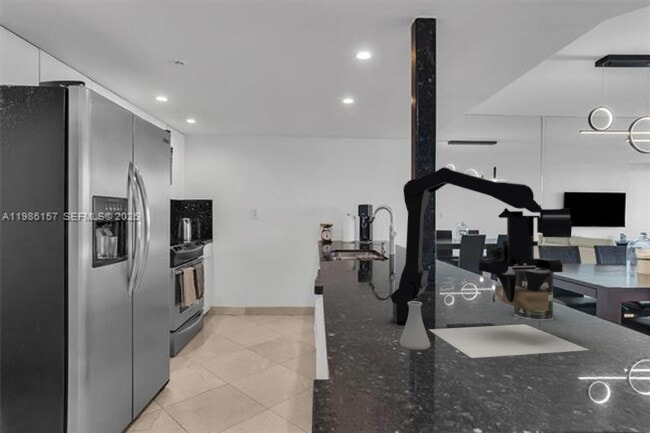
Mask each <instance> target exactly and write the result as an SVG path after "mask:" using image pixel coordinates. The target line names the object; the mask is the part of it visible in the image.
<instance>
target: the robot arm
mask: <svg viewBox="0 0 650 433" xmlns="http://www.w3.org/2000/svg"><path fill="white" fill-rule="evenodd" d="M446 185H452V186H456V187H459V188H462V189H466V190H468V191H472V192H476V193H480V194H483V195H486V196H490V197H492V198H494V199H496V200H498V201H500V202H503V203H504V204H507V205H508V206H511V207H512V208H514V209H519V210H520V211H519V210H511V211H510V210H509V209H508V208H507V207H505V208H504V209H503V211H501V213H500V214H499V215H498V218H499V219H506V240H505V239H504V240H503V242H502V247H497V245H488V246H486V249H485V254H486V258H487V259H485V258H484V259H483V258H482V259H481V260H480V261H479V263H478V271H480V272H485V273H487V274H488V273H489V274H491V275H494V276H496V277H497V279H498V280H499V281H500V284H501V286H503V289H504V291H505V294H506V297H507V299H508V301H509V302H513V298H514V292H515V284H516V276H517V275H515V274H514V273H513V271H514V270H519V269H528V271H524V273H525V275H526V277H527V289H529V290H533V291H537V292H538V291H539V289H540V287H541V286H542V284H543V283H544V281H545V280H546V278H547V277H548V276H551V274H550V273H547V270H550V271H551V272H554V273H563V272H564V271H563V265H564V264H563V263H562V261H561V260H560V259H555V258H554V259H553V258H544V257H543V258H540V257H539V258H535V250H534V249H535V247H538V245H539V241H536V240H535V235H534V234H535V231H534V230H535V226H534V224H535V219H536V229H537V230H536V232H537V234H541V236H542V237H543V238H560V239H562V238H566V239H567V238H568V239H570V238H572V232H573V231H572V229H573V225H572V224H573V222H572V221H571V209H570V208H569V207H566V208H565V207H562V208H555V209H554V208H552V209H551V208H550V209H549V208H548V209H547V208H546V209H544V208H542V207H541V204H538V203H537V201H536V200H535V199H534V198H535V196H534V191H533V189H532V188H531V187H530V186H528V185H527V184H524V183H523V184H522V183H514V182H503V181H501V182H500V181H493V180H491V179H487V178H482V177H478V176H475V175H472V174H468V173H464V172H461V171H457V170H454V169H451V168H449V167H445V166H444V167H441V168H440V169H438V170H435V171H434V172H431V173H429V174H427V175H424V176H421V177H420V178H418V179H416V178H415V179H414V178H413V179H411V180H408V181H407V182H406V183H405V184H404V186H403V197H404V198H403V199H404V204H405V207H406V210H407V221H406V222H407V225H406V245H405V248H406V249H405V263H404V266H403V269H402V272H401V275H400V279H399V284H398V288H397V289H395V291H393V292H392V294H390V299H391V301H392V318H390V321H391V322H393V323H395V324H396V325H397V326H398V327H399V326H405V325H406V322H407V319H408V314H409V305H408V302H410V301H417V302H419V301H418V299H419V297H420V295H421V294H422V293H424V292H425V290H426V288H427V287H428V286H429V282H428V276H429V270H424V267H423V264H422V263H423V260H422V259H423V243H424V241H423V239H424V224H425V223H424V222H425V221H424V220H425V218H424V217H425V213H426V209H427V206H428V205H429V199H430V195H431V194H433V193H434V192H437V191H438V190H439V189H441V188H442V187H444V186H446ZM523 209H525V210H527V211H528V212H531V213H532V214H533V213H534V214H536V213H539V215H524V211H523ZM546 269H547V270H546Z"/></svg>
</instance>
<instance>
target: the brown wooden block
mask: <svg viewBox="0 0 650 433" xmlns="http://www.w3.org/2000/svg"><path fill="white" fill-rule="evenodd" d="M494 288H495V290H494V291H495V292H494V294H495V295H494V297H495V299H494V300H495V301H498V302H501V303H504V304H507V305H511V306H513V307H514V306H516V307H519V308H522V309H524V310H527V311H539V310H548V294H544V293H540V292H537V291H533V290H529V289H525V288H521V287H518V286H515V292H514V298H513V302H509V301H508V299H507V297H506V294H505V291H504V289H503V286H502V285H494Z"/></svg>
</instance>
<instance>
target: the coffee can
mask: <svg viewBox="0 0 650 433" xmlns="http://www.w3.org/2000/svg"><path fill="white" fill-rule="evenodd" d="M546 270H547V273H550V274H551V276H548V277H547V278H546V280H545V281H544V283H543V284H542V286H541V287H540V289H539V291H538V292H540V293H544V294H548V310H539V311H527V310H524V309H522V308H519V307H516V306H513V309H514V310H513V316H516V317H519V318H522V319H525V320H526V319H527V320H535V321H551V320H552V321H553V320H554V273H555V272H551V271H550V270H548V269H546ZM524 271H528V269H519V270H513V272H514V273H513V274H515V275H517V276H516V284H515V286H518V287H521V288H525V289H527V277H526V275H525V273H524Z"/></svg>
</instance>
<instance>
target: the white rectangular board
mask: <svg viewBox="0 0 650 433" xmlns="http://www.w3.org/2000/svg"><path fill="white" fill-rule="evenodd" d="M428 331H429V332H431V333H433V334H434V335H436V336H437V337H439V338H440V339H442V340H444V341H445V342H447V343H448V344H449V345H450V346H452V347H454V348H456V349H457V350H458V351H460V352H462V353H463V354H464V355H466V356H467V357H469V358H471V359H479V358H492V357H493V358H494V357H495V358H496V357H507V356H508V357H509V356H522V355H525V356H526V355H537V354H539V355H541V354H553V353H567V352H568V353H569V352H580V351H589V349H588V348H585V347H583V346H580V345H578V344H576V343H573V342H571V341H567V340H565V339H563V338H561V337H557V336H556V335H553V334H550V333H548V332H545V331H543V330H540V329H538V328H535V327H533V326H530V325H528V324H525V323H524V324H507V325H489V326H485V325H484V326H471V327H466V326H465V327H450V328H448V327H447V328H434V329H432V328H431V329H428Z"/></svg>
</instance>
